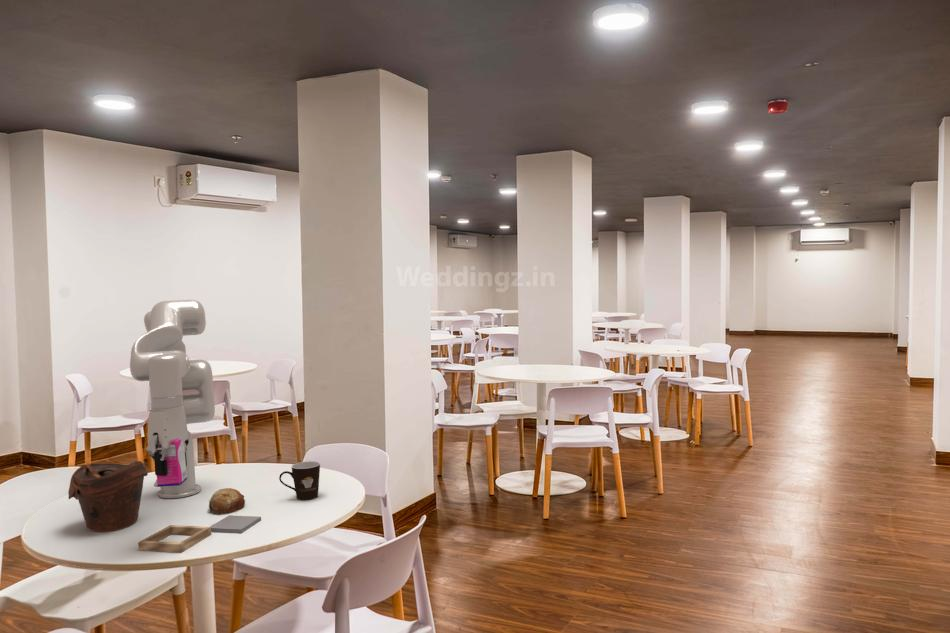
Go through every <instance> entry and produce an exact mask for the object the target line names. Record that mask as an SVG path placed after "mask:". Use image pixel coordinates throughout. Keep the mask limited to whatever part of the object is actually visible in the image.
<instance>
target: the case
mask: <svg viewBox="0 0 950 633" xmlns="http://www.w3.org/2000/svg"><path fill="white" fill-rule="evenodd" d="M148 474H149V473H148V471H147V468H146V467H145V464H144V462H142V461H140V460H138V461H135V462H131V463H129V464H122V463H121V464H120V463H111V462H110V463H109V462H108V463H107V462H106V463H105V462H95V463H86V464H85V465H82V466H80V467H79V468H77V469H76V470H75V471H74V473H73V474H72V475H71V477H70V482H69V488H68V499H69V500H71V499H72V498H74V499H75V500H78V503H79V506H80V509H81V513H82V516H83V519H84V523H85V526H86V528H87V530H89V531H92V532H113V531H118V530H122V529H125V528H129V527H131V526H133V525H134V524H136V523H137V521H138V519H139V512H140V506H141V500H142V494H143V488H144V487H143V486H144V480H145V477H147V476H148Z"/></svg>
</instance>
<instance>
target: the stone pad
mask: <svg viewBox="0 0 950 633" xmlns="http://www.w3.org/2000/svg"><path fill="white" fill-rule="evenodd" d="M261 521H262V516H254V515H253V516H252V515H250V516H249V515H227V516H225V517H224V518H222V519H220V520H219V521H217V522H216V523H214V524H212V525H210V526H209V527H211V533H230V534H242V533H244V532H245V531H247V530H248V529H250V528H252V527H253V526H255V525H256V524H258V523H259V522H261Z"/></svg>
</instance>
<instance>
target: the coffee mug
mask: <svg viewBox="0 0 950 633" xmlns="http://www.w3.org/2000/svg"><path fill="white" fill-rule="evenodd" d="M290 467H291V471H288V470H284V471H282V472H281V473H280V474H279V477H278V479H279V481H280V483H281V484H282V485H284V486H285V487H287V488H289V489H291V490H293V491H294V492H295V495H296V499H297V500H299V501H310V500H314V499H317V498H318V497H319V489H320V488H319V487H320V485H319V484H320V471H321V463H320V462H318V461H315V460H314V461H311V460H310V461H301V462H296V463H293V464H292V465H291V466H290ZM284 474H288V475H289V476H291V478H292V479H293V484H294V487H293V486H291V485H289V484H287V483H285V482H284V481H283V480H282V476H283V475H284Z"/></svg>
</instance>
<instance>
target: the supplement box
mask: <svg viewBox="0 0 950 633" xmlns="http://www.w3.org/2000/svg"><path fill="white" fill-rule="evenodd" d="M158 447H161V448H162V445H158ZM161 452H162V451H159V453H160V454H161ZM165 460H167V471H168V474H167V475H166V476H156V480H157V486H158V487H157V488H159V487H160V488H161V487H162V486H180V485H181V484H182V483H183V482H184V481H185V480H186V479H187V473H186V462H185V450H184V442H182V439H181V438H180V439H177V440H175V441H173V442H171V447H170V448H169V449H167V452H166V456H165Z"/></svg>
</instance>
